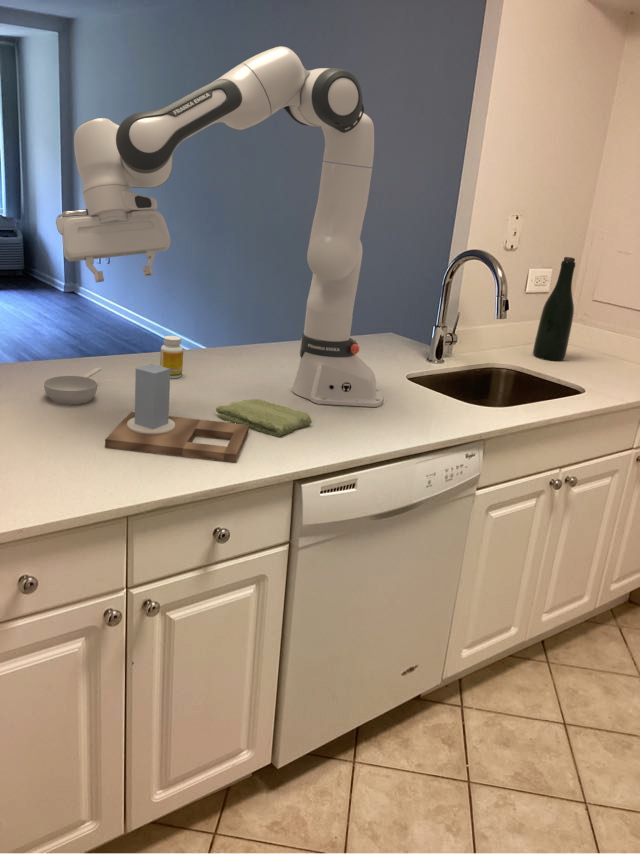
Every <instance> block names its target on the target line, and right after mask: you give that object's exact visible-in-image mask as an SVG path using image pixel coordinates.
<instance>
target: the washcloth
mask: <svg viewBox="0 0 640 854" xmlns="http://www.w3.org/2000/svg"><path fill="white" fill-rule="evenodd" d="M215 410H216V411H215V412H217V414H218V419H220V420H222V421H226V422H229V421H230V422H229V423H232V422H233V423H234V424H235V423H236V424H243V425H249V430H250V429H251V430H254V431H256V432H261V433H264V434H266V435H270V436H273V437H281V436H284V435H286V434H289V433H292V432H293V431H295V430H297V429H298V430H301V429H302V428H306V427H309V425H311V424H312V422H313V421H312V417H311V415H310V414H309V413H308V412H307V411H305V410H298V409H294V408H291V407H289V406H284V405H280V404H277V403H273V402H270V401H266V400H263V399H260V398H250V399H249V398H248V399H246V400H238V401H233V402H230V403H229V404H227V405H218V406H216V409H215Z"/></svg>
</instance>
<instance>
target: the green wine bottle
mask: <svg viewBox="0 0 640 854" xmlns="http://www.w3.org/2000/svg"><path fill="white" fill-rule="evenodd" d="M575 260H576V258H574V257H570V256H565V257H563V260H562V261H561V262H560V270H559V273H558V277H557V281H556V284H555V286H554V288H553V289H552V291H551V293H550V294H549V296H548V298H547V300H546V301H545V303H544V305H543V308H542V310H541V314H540V319H539V323H538V328H537V332H536V335H535V341H534V345H533V351H532V355H533V356H535V357H536V358H538V357H539V358H538V359H541V358H543V359H542V360H546V359H547V361H552V360H558V361H557V362H559V360H561V361H563V360H565V358H566V354H567V351H568V345H569V341H570V336H571V332H572V331H571V330H572V327H573V326H572V325H573V321H574V319H573V318H574V314H575V305H574V298H573V292H572V291H573V290H572V286H573V279H574V274H575V273H574V271H575V268H576V262H575Z"/></svg>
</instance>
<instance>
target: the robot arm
mask: <svg viewBox="0 0 640 854" xmlns="http://www.w3.org/2000/svg"><path fill="white" fill-rule="evenodd" d="M281 109H284V110H285V112H286V113H287V115H288V116H289V117H290V118H291V119H292V120H293V121H295V122H296V123H298V124H300V125H303V126H312V127H315V128H316V127H318V128H321V130H322V133H323V137H324V151H323V158H322V165H321V174H320V179H319V180H320V182H319V190H318V198H317V202H316V208H315V211H314V217H313V220H312V224H311V225H312V226H311V230H310V236H309V243H308V247H307V254H306V260H307V264H308V267H309V269H310V271H311V272H312V277H311V278H312V279H311V284H310V287H309V291H308V295H307V296H308V297H307V300H306V309H305V319H304V329H303V333H302V335H301V338H300V343H299V344H300V345H299V346H300V347H299V357H300V358H299V359H300V360H299V364H298V369H297V371H296V376H295V379H294V382H293V385H292V387H291V392H292V393H294V394H295V395H297V396H299V397H302V398H305V399H307V400H310V401H311V402H312V403H314V404H316V405H317V404H318V405H334V406H351V407H352V406H354V407H369V408H371V407H372V408H376V407H379V406H381V405H383V403H384V393H383V392H382V391H381V390H380V389H378V388H377V381H376V376H375V373H374V371H373V370H372V369H371V367H370V366H369V365H367V363H365V361H363V359H361V358H360V356H358V355H357V354H358V353H359V352H360V345H358V344H359V343H358V342H357V340H356V339H353V338H352V337H351V332H352V330H351V329H352V324H353V314H354V307H355V302H356V300H355V299H356V295H357V291H358V284H359V280H360V279H359V278H360V272H361V266H362V259H363V252H364V251H363V244H362V241H361V235H362V234H361V233H362V229H363V226H364V220H365V215H366V211H367V206H368V200H369V196H370V194H369V193H370V187H371V178H372V173H373V172H372V171H373V165H374V154H375V126H374V122H373V120H372V119H371V117H370V116H369V115H367V114H366V113H364V112H365V107H364V104H363V94H362V89H361V85H360V83H359V81H358V79H357V77H356V76H355V75H353V74H352V73H351V72H349V71H348V70H345V69H342V68H338V67H331V68H328V67H324V68H322V67H321V68H314V69H311V70H308V69H306V68H305V67H304V65H303V63H302V61H301V59H300V57H299V56H298V55H297V54H296V53H295V52H294V50H292V49H290V48H289V47H286V46H276V47H273V48H269V49H267V50H265V51H262V52H260V53H258V54H256V55H254V56H252V57H249V58H248V59H246V60H244V61H243V62H241V63H239V64H238V65H235V66H234V67H233V68H232V69H230V70H228V71H227V72H226V73H224V74H223V75H222V76H220V77H219V78H217V79H215V80H214V81H212V82H211V83H208V84H206V85H204V86H202V87H200V88H198V89H197V90H194V91H193V92H191V93H189V94H187V95H185V96H183V97H182V98H180V99H178V100H176V101H174V102H172V103H171V104H169V105H167V106H164V107H162V108H159V109H155V110H149V111H148V110H147V111H139V112H136V113H132V114H131V115H129V116H127V117H125V118H124V120H122V122H121V123H120V124H119V125H118V124H117V123H115V122H113V121H111V119H109V118H107V117H106V118H105V117H97V118H92V119H88V120H87V121H85V122H83V123H82V124H80V125H79V126H78V127H77V129H76V130H75V132H74V137H73V146H74V147H73V148H74V156H75V161H76V167H77V171H78V174H79V176H80V178H81V181H82V185H83V186H82V196H83V201H84V204H85V209H77V210H71V211H70V210H66V211H65V210H64V211H62V213H60V214H59V215H57V216H56V219H55V224H56V228H57V232H58V233H59V234H60V235H61V236H62V248H63V255H64V258H65V259H66V260H67V261H68V262H70V263H71V262H81V261H84V263H85V266H86V267H87V269H88V270H89V271H90V272H91V273H92V274H93V276H94V280H95V283H101V282H102V283H103V282H104V281H105V276H103V275H104V273H103V272H104V271H103V270H98V269H97V267H95V265H94V263H95V260H98V259H106V258H108V259H109V258H115V257H116V258H117V257H124V256H125V257H127V256H132V255H133V256H134V255H135V256H136V255H142V254H145V256H146V257H145V259H148V262H147V265H143V267H142V272H143V276H144V277H151V276H153V275H154V271H153V267H152V266H153V264H154V261H155V257H156V253H160V252H161V253H162V252H167V250H168V249H169V248H170V246H171V243H172V242H171V241H172V240H171V236H170V232H169V228H168V226H167V223H166V219H165V218H164V216H163V215H162V213H161V212H160V211H158V210H157V209H158V201H157V199H156V198H155V197H153V196H149V195H148V196H147V195H143V194H139V193H135V192H131V189H130V188H136V189H139V188H140V189H151V188H152V189H153V188H157V187H159V186H162V185H163V184H165V183H166V182H167V181H168V179H169V178H170V176H171V174H172V167H173V154H174V152H175V150H176V149H177V148H178V146H179V145H180V144H181V143H182V142H183V141H185V140H187V139H188V138H191V137H192V136H194V135H196V134H197V133H199V132H201V131H203V130H204V129H206V128H208V127H210V126H211V125H212V126H213V125H214V124H216V123H224V124H225V125H226V126H228V127H229V128H232V129H235V130H240V131H242V130H246V129H249V128H251V127H253V126H255V125H257V124H259V123H261V122H263V121H265V120H266V119H267V118H269V117H271V116H272V115H274V114H275V113H277V112H278V111H279V110H281Z"/></svg>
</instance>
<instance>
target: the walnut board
mask: <svg viewBox="0 0 640 854" xmlns="http://www.w3.org/2000/svg"><path fill="white" fill-rule="evenodd" d="M132 418H135V411H130V412H129V413H128V415H126V417H124V419H122V421H121V422H120V423H118V425H117V426H116V427H115V428H114V429H113V430H112V431H111V432H110V433H109V434H108V436H106V438H104V447H105V448H108V449H117V450H125V451H133V452H134V451H135V452H142V453H151V454H159V455H168V456H176V457H177V456H178V457H184V458H185V457H186V458H191V459H192V458H193V459H202V460H211V461H220V462H227V463H228V462H229V463H236V462H237V460H238V458H239V456H240V453H241V451H242V449H243V446H244V444H245V441H246V439H247V437H248V434H249V431H250V428H249V425H243V424H235V423H232V422H227V421H226V422H224V421H214V420H210V419H209V420H206V419H199V418H192V417H191V418H190V417H183V416H182V417H181V416H175V415H174V416H172V415H169V419H171V420H172V421H174V422H175V429H174V430H173V431H171V432H169V433H166V434H160V435H145V434H139V433H135V432H133V431H131V430H129V429H128V427H127V422H128V421H129V420H130V419H132ZM195 437H200V438H201V437H202V438H210V439H218V440H227V441H229V442H228V444H227V445H226V446H225V445H216V444H208V443H202V442H201V443H200V442H193V440H194V439H195Z"/></svg>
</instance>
